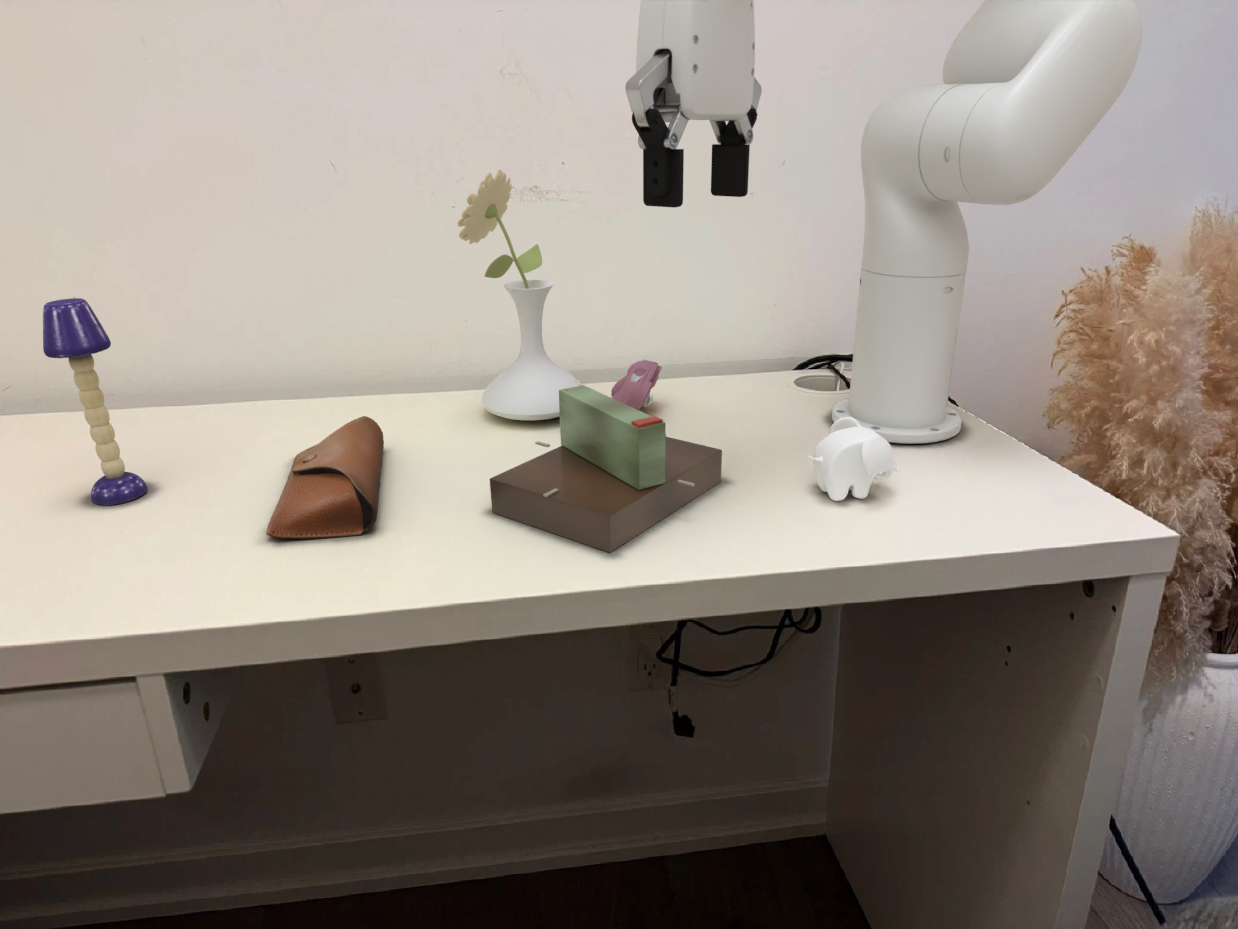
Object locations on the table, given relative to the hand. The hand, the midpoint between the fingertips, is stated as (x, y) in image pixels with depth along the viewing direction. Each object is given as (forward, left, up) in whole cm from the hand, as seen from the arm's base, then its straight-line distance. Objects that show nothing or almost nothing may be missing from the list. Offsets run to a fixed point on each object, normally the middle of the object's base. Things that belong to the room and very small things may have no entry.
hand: (697, 200), depth 67 cm
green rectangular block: (+8, -3, -20) cm, 22 cm away
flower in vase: (-4, -23, -24) cm, 33 cm away
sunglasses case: (+21, -23, -24) cm, 39 cm away
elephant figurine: (-4, +13, -24) cm, 27 cm away
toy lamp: (+32, -38, -24) cm, 55 cm away
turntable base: (+8, -3, -23) cm, 25 cm away
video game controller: (-10, -14, -24) cm, 29 cm away
